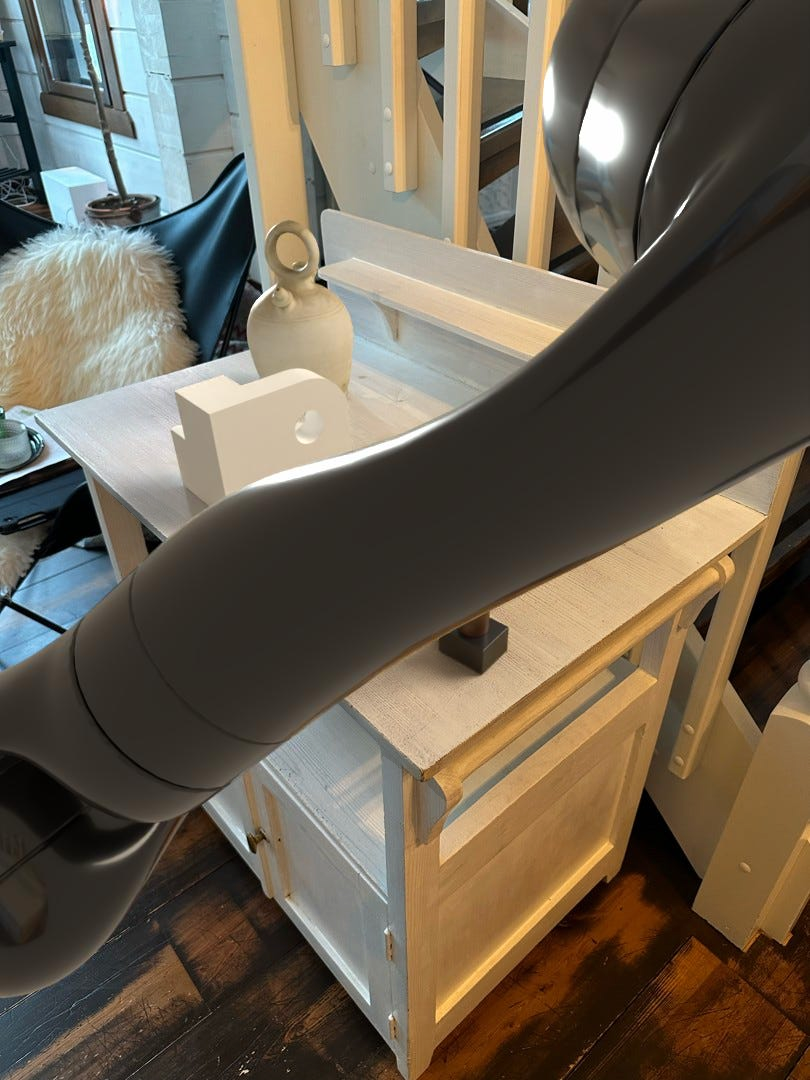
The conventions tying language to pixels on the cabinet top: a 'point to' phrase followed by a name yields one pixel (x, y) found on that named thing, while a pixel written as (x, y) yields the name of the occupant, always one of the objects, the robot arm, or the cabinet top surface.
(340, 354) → the jug
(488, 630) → the brown cylinder
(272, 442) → the tape dispenser
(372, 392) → the cabinet top surface
